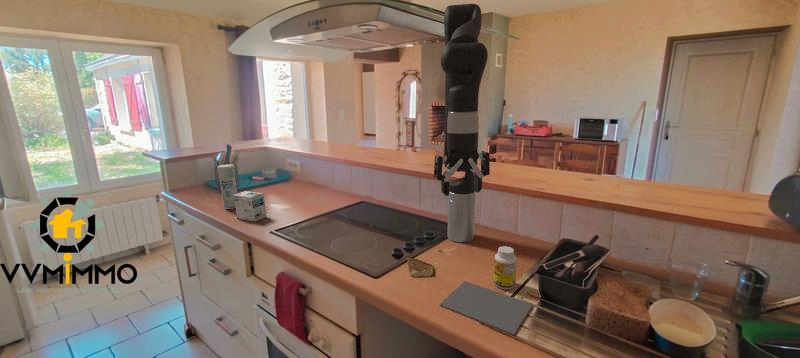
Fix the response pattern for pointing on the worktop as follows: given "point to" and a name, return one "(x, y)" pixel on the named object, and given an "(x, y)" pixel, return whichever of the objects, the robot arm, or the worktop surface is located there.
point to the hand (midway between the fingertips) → (461, 193)
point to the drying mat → (488, 307)
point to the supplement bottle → (505, 268)
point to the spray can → (227, 185)
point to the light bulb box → (250, 206)
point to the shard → (419, 267)
